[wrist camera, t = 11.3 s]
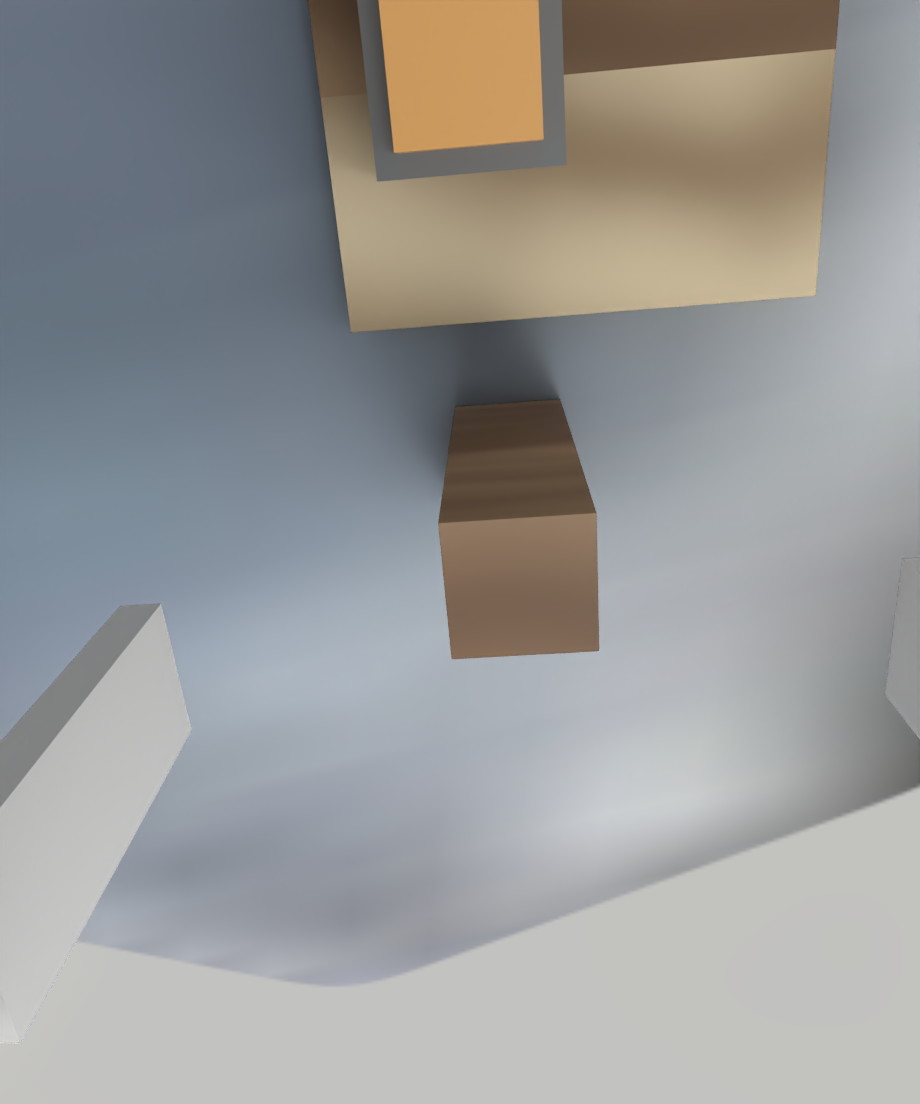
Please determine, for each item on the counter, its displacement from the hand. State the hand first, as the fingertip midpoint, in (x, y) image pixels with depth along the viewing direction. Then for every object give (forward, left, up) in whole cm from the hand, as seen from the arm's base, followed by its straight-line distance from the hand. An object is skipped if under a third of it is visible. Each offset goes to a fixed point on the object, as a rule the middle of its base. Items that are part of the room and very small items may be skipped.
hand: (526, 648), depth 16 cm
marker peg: (0, 0, -11) cm, 11 cm away
